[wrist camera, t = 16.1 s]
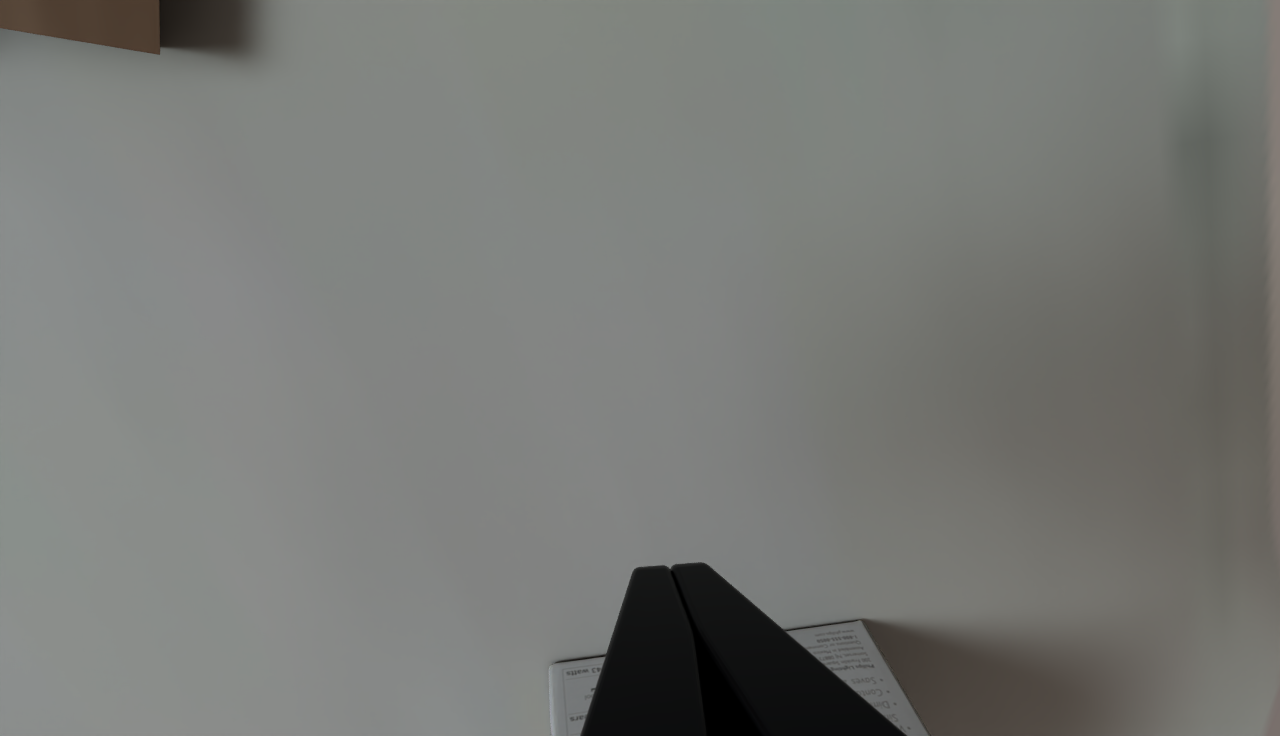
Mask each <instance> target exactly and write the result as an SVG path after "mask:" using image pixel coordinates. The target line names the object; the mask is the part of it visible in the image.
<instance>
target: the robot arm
mask: <svg viewBox="0 0 1280 736" xmlns="http://www.w3.org/2000/svg"><path fill="white" fill-rule="evenodd" d="M580 736H907V735H906V734H905V733H903V732H902V731H901V730H900V729H899V728H898V727H896V726H895V725H894V724H893V723H892V722H891V721H889V720H888V719H887V718H886V717H885V716H884V715H882V714H881V713H880V712H879V711H878V710H877V709H875V708H874V707H873V706H872V705H871V704H870V703H868V702H867V701H866V700H865V699H864V698H863V697H861V696H860V695H859V694H858V693H857V692H856V691H854V690H853V689H852V688H851V687H850V686H849V685H847V684H846V683H845V682H844V681H843V680H842V679H840V678H839V677H838V676H837V675H836V674H835V673H833V672H832V671H831V670H830V669H829V668H828V667H826V666H825V665H824V664H823V663H822V662H821V661H819V660H818V659H817V658H816V657H815V656H814V655H812V654H811V653H810V652H809V651H808V650H807V649H805V648H804V647H803V646H802V645H801V644H800V643H798V642H797V641H796V640H795V639H794V638H793V637H791V636H790V635H789V634H788V633H787V632H786V631H784V630H783V629H782V628H781V627H780V626H779V625H777V624H776V623H775V622H774V621H773V620H772V619H770V618H769V617H768V616H767V615H766V614H765V613H763V612H762V611H761V610H760V609H759V608H758V607H756V606H755V605H754V604H753V603H752V602H751V601H749V600H748V599H747V598H746V597H745V596H744V595H742V594H741V593H740V592H739V591H738V590H737V589H735V588H734V587H733V586H732V585H731V584H730V583H728V582H727V581H726V580H725V579H724V578H723V577H721V576H720V575H719V574H718V573H717V572H716V571H714V570H713V569H712V568H711V567H710V566H709V565H707V564H705V563H701V562H698V563H686V564H675V565H673V566H672V567H671V569H669V568H668V567H667V566H664V565H660V566H647V567H638V568H636V569H634V571H633V573H632V575H631V579H630V582H629V585H628V588H627V591H626V594H625V597H624V600H623V603H622V607H621V610H620V613H619V616H618V619H617V622H616V625H615V628H614V632H613V635H612V638H611V641H610V644H609V647H608V650H607V653H606V656H605V660H604V663H603V666H602V669H601V672H600V675H599V678H598V681H597V685H596V688H595V691H594V694H593V697H592V700H591V703H590V706H589V710H588V713H587V716H586V719H585V722H584V725H583V728H582V731H581V734H580Z"/></svg>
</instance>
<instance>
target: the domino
mask: <svg viewBox="0 0 1280 736" xmlns="http://www.w3.org/2000/svg"><path fill="white" fill-rule="evenodd" d="M0 28H3V29H9V30H15V31H21V32H27V33H33V34H39V35H45V36H51V37H57V38H63V39H69V40H75V41H81V42H87V43H93V44H99V45H105V46H111V47H117V48H123V49H129V50H135V51H141V52H147V53H153V54H159V55H160V9H159V0H0Z"/></svg>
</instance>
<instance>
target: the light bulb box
mask: <svg viewBox="0 0 1280 736" xmlns="http://www.w3.org/2000/svg"><path fill="white" fill-rule="evenodd" d="M786 632H787V633H788V634H789V635H790V636H791V637H793V638H794V639H795V640H796V641H797V642H798V643H800V644H801V645H802V646H803V647H804V648H805V649H807V650H808V651H809V652H810V653H811V654H812V655H814V656H815V657H816V658H817V659H818V660H819V661H821V662H822V663H823V664H824V665H825V666H826V667H828V668H829V669H830V670H831V671H832V672H833V673H835V674H836V675H837V676H838V677H839V678H840V679H842V680H843V681H844V682H845V683H846V684H847V685H849V686H850V687H851V688H852V689H853V690H854V691H856V692H857V693H858V694H859V695H860V696H861V697H863V698H864V699H865V700H866V701H867V702H868V703H870V704H871V705H872V706H873V707H874V708H875V709H877V710H878V711H879V712H880V713H881V714H882V715H884V716H885V717H886V718H887V719H888V720H889V721H891V722H892V723H893V724H894V725H895V726H896V727H898V728H899V729H900V730H901V731H902V732H903V733H905V734H906V735H907V736H931V735H930V733H929V732H928V730H927V728H926V727H925V725H924V723H923V722H922V720H921V718H920V716H919V715H918V713H917V712H916V710H915V708H914V707H913V705H912V703H911V702H910V700H909V698H908V696H907V695H906V693H905V691H904V690H903V688H902V686H901V685H900V683H899V681H898V679H897V678H896V676H895V674H894V672H893V671H892V669H891V667H890V666H889V664H888V662H887V661H886V659H885V657H884V656H883V654H882V652H881V650H880V649H879V647H878V645H877V643H876V642H875V640H874V638H873V636H872V635H871V633H870V631H869V630H868V628H867V626H866V624H865V623H864V621H862V620H858V621H855V622H848V623H841V624H834V625H827V626H820V627H813V628H805V629H798V630H792V631H786ZM604 660H605V657H599V658H592V659H585V660H577V661H569V662H561V663H555V664H552V665H551V666H550V667H549V697H550V721H551V736H580V734H581V731H582V728H583V725H584V722H585V719H586V716H587V713H588V710H589V706H590V703H591V700H592V697H593V694H594V691H595V688H596V685H597V681H598V678H599V675H600V672H601V669H602V666H603V663H604Z"/></svg>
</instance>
